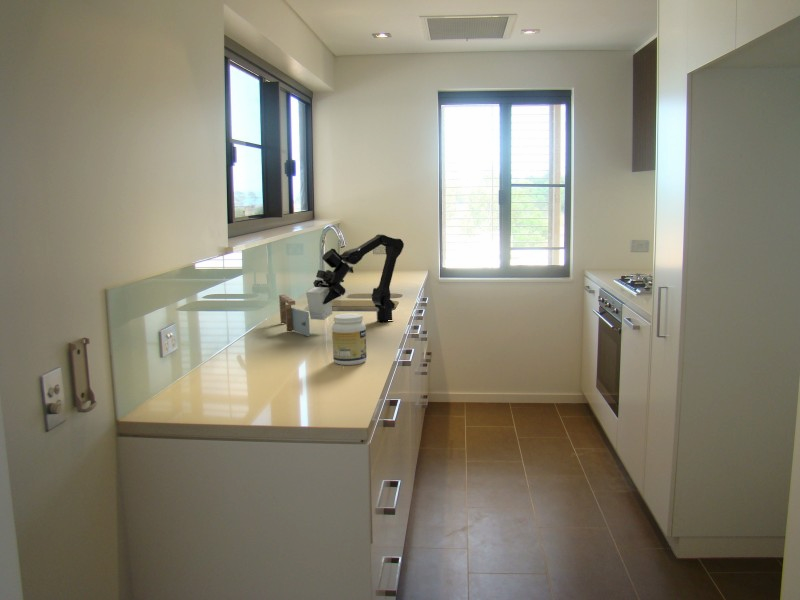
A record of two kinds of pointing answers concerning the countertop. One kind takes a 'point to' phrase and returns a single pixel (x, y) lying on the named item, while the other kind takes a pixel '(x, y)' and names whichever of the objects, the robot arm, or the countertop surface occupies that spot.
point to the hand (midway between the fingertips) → (318, 302)
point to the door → (300, 321)
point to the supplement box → (318, 303)
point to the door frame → (286, 311)
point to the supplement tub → (349, 339)
